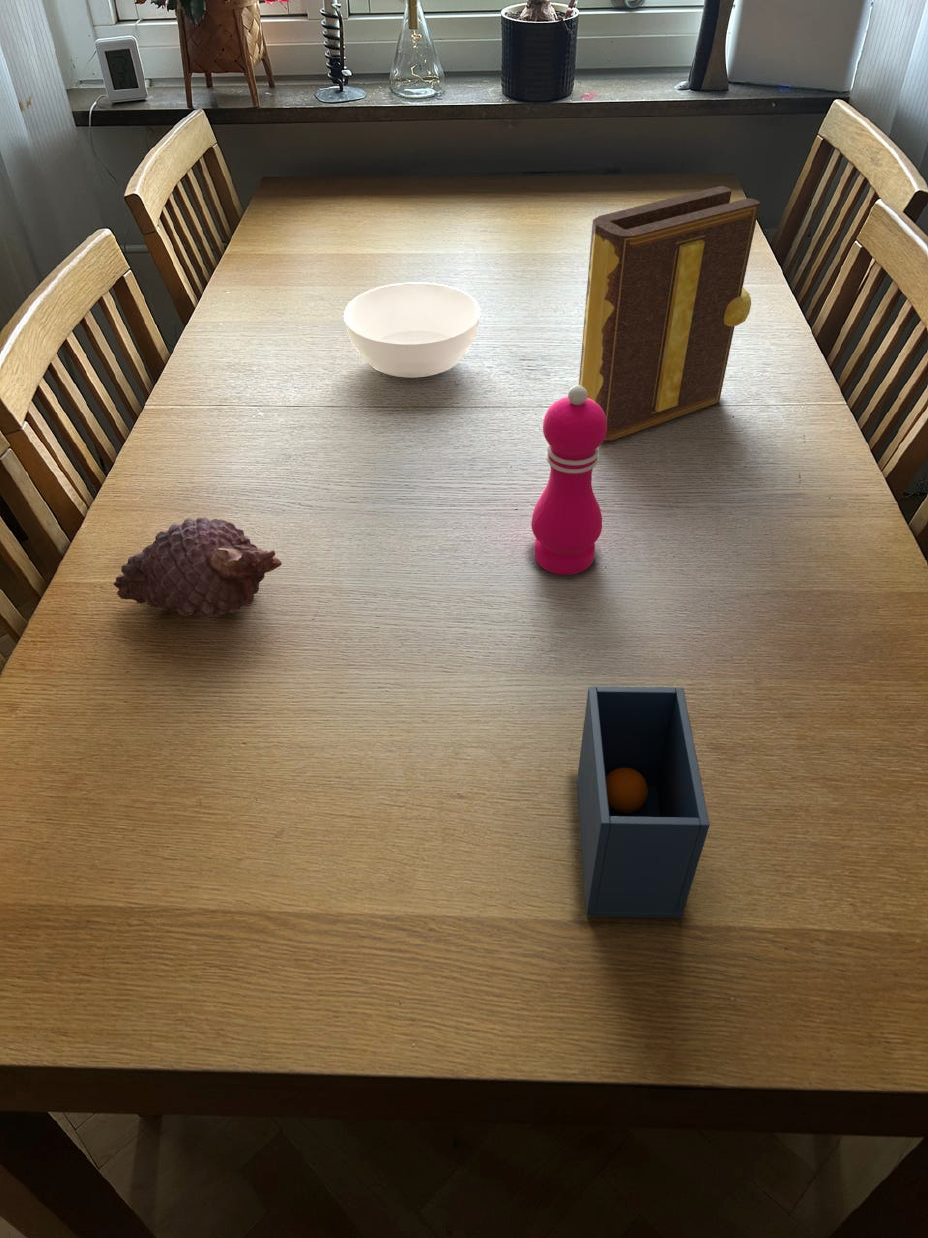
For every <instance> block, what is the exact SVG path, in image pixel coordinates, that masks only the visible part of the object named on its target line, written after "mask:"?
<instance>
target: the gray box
mask: <svg viewBox="0 0 928 1238" xmlns="http://www.w3.org/2000/svg"><path fill="white" fill-rule="evenodd" d="M585 703H586V704H585V711H584V719H583V728H582V736H581V744H580V753H579V759H578V760H579V761H578V769H577V777H576V793H577V794H576V795H577V807H578V819H579V820H578V821H579V834H580V847H581V861H582V862H581V863H582V876H583V890H584V891H583V892H584V903H585V913H586V914H585V915H586V917H608V918H609V917H614V918H615V917H617V918H660V919H661V918H662V919H665V918H666V919H667V918H668V919H674V918H675V919H682V918H683V915H684V911H685V909H686V905H687V901H688V898H689V895H690V892H691V889H692V885H693V882H694V879H695V875H696V872H697V868H698V865H699V862H700V859H701V855H702V852H703V848H704V845H705V842H706V839H707V835H708V833H709V829H710V826H711V825H710V820H709V819H710V818H709V814H708V809H707V804H706V798H705V793H704V787H703V782H702V777H701V772H700V767H699V763H698V757H697V752H696V746H695V742H694V741H695V740H694V736H693V731H692V725H691V721H690V716H689V710H688V705H687V698H686V694H685V688H684V687H683V686H682V687H681V686H676V687H674V686H613V685H597V686H596V685H589V686H588V687H587V694H586V702H585ZM622 767H627V768H632V769H634V770H636V771H638V772H639V773H640V774H641V775H642V776H643V777H644V779H645V780H646V783H647V786H648V796H647V800H646V802H645V803H644V805H643V806H642V807H641V808H640V809H639V810H637V811H635V812H632V813H627V814H624V813H619V812H616V811H614V810H613V809H611V808H610V807H609V806H608V796H607V786H606V776H607V775H608V774H609V773H610V772H611V771H613V770H615V769H617V768H622Z"/></svg>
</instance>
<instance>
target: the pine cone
mask: <svg viewBox="0 0 928 1238" xmlns="http://www.w3.org/2000/svg"><path fill="white" fill-rule="evenodd" d="M282 564H283V562H282V560H280V559H279V558H278V557H276V551H275V550H271V551H268V550H263V549H262V548H258V546H257V545H256V544H254V543H252V542H251V540H250V538H249V537H248V536H247V535H245V531H244V530H243V529H242V528H237V527H236V525H235V524H234V523H233V522H230V521H227V520H225V519H222V518H221V519H217V518H214V519H211V520H210V519H209V518H207V517H197V518H196V519H193V518H191V517H188V518H186V519H184V520H183V522H182V523H181V524H179V523H178V524H177V523H173V524H171V525H169V528H168V530H167V531H165V530H163V531H160V532H157V533H156V535H155V540H154V541H153V542H152V543H151V544H149V545H147V546H146V547H144V548H143V549H142V551H141V552H138V553H135V554H134V555H133V556H131V555H130V556H129V557H128V558H127V563H125V564H123V565H122V566H121V569H120V571H121V573H122V574H118V575H117V576H116V577H115V581H114V582H113V583H112V584H113V586H114V587H115V588H117V589H118V590H117V592H116V595H117V596H118V597H119V598H120V599H121V600H133V601H135V602H136V603H137V604H147V606H149V607H153V608H159V609H161V610H163V611H171V610H176V611H177V612H178V614H179V615H181V616H186V617H187V616H190V615H191V616H193V617H195V618H197V619H198V618H200V619H206V618H209V617H211V616H214V617H219V616H221V615H225V614H227V613H228V614H235V613H237V612H238V611H240V610H241V608H242V607H246V606H247V605H248V606H249V605H251V604H252V603H253V602H254V597H255V595H256V594H258V592H259V590H260V583H261V582H262V581H263V580H264V579H265V577H266V576H265V575H266V573H270V572H272V571H274V570H276V569H278V568H279V567H281V566H282Z"/></svg>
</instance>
